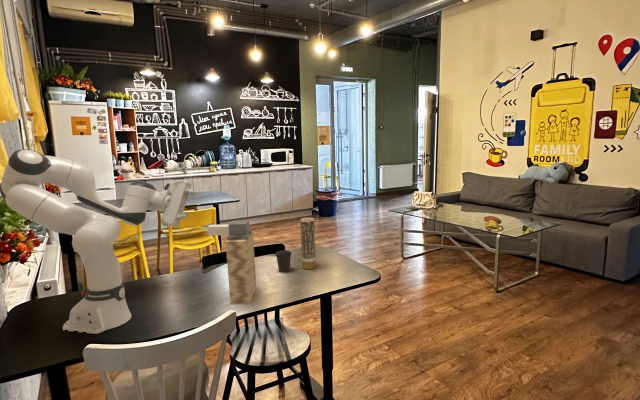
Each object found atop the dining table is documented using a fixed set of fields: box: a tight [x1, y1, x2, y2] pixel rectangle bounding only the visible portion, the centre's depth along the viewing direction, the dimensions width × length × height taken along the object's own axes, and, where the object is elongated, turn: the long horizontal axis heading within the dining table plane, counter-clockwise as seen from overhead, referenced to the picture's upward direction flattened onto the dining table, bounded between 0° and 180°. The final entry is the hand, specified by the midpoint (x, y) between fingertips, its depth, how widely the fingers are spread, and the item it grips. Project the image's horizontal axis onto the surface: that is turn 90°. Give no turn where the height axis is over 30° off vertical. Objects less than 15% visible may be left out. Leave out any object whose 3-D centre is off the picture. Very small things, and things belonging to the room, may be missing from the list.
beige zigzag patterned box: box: [225, 229, 257, 304], centre depth 160 cm, size 8×14×28 cm, turn 179°
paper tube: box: [300, 217, 317, 270], centre depth 191 cm, size 7×7×25 cm
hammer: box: [206, 220, 251, 237], centre depth 157 cm, size 16×6×6 cm, turn 89°
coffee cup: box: [275, 249, 292, 274], centre depth 188 cm, size 8×8×10 cm
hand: (190, 204), depth 160 cm, fingers open, 8 cm apart
